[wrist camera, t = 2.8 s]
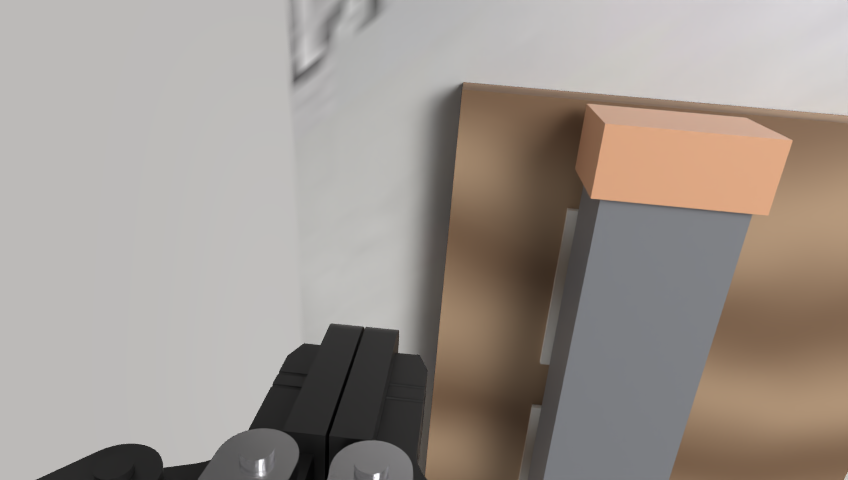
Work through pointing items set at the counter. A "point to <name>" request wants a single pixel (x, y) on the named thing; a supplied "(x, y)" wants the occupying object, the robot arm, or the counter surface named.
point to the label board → (545, 278)
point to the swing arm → (647, 283)
